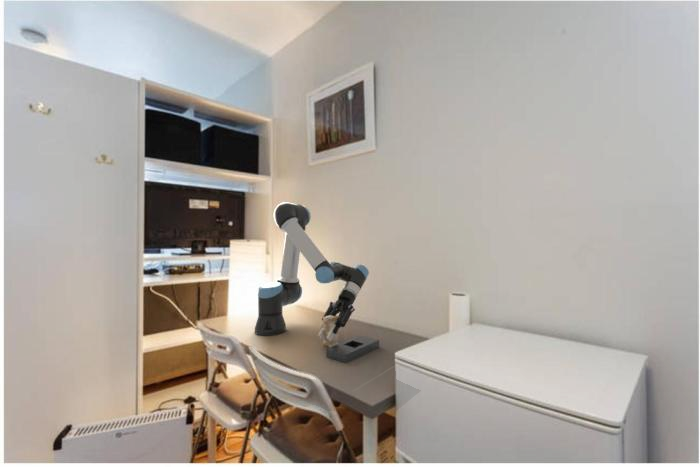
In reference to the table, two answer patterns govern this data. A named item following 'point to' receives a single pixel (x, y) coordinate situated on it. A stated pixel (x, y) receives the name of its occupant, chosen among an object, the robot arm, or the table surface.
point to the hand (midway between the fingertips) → (324, 338)
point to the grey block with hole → (352, 348)
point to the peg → (327, 326)
